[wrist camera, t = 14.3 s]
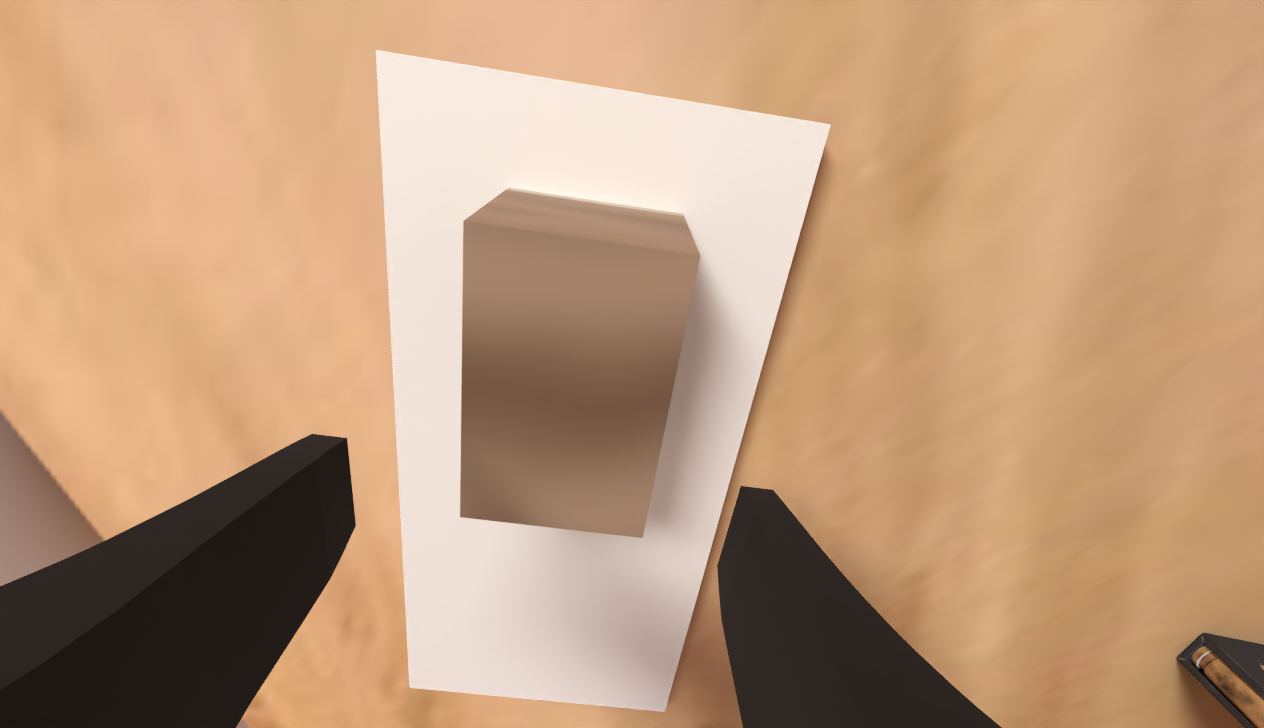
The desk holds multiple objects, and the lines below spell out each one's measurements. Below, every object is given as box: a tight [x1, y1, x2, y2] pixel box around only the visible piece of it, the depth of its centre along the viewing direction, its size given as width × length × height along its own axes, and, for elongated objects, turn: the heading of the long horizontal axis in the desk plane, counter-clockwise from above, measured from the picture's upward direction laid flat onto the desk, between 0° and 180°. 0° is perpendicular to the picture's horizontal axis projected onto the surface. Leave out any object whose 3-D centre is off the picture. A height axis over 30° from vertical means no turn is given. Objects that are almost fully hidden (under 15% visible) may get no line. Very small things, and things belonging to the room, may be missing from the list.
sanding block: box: [460, 188, 700, 538], centre depth 15 cm, size 8×5×5 cm, turn 172°
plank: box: [376, 50, 831, 712], centre depth 21 cm, size 26×12×1 cm, turn 172°
